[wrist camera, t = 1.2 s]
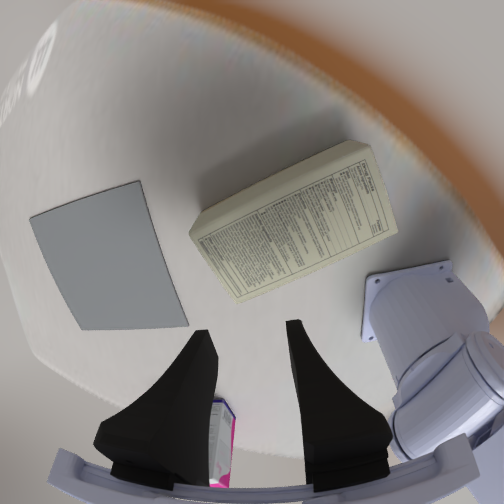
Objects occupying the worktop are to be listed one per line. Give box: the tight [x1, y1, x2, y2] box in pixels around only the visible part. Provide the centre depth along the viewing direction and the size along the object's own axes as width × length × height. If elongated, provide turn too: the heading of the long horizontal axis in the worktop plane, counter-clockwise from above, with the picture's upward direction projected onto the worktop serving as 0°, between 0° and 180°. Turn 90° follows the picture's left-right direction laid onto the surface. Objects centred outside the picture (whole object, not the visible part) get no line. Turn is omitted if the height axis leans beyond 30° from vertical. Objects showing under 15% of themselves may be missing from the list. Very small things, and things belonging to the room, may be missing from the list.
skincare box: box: [189, 140, 398, 304], centre depth 18 cm, size 6×4×12 cm
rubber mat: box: [29, 181, 189, 330], centre depth 23 cm, size 14×14×1 cm
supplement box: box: [209, 399, 236, 488], centre depth 28 cm, size 6×6×11 cm
